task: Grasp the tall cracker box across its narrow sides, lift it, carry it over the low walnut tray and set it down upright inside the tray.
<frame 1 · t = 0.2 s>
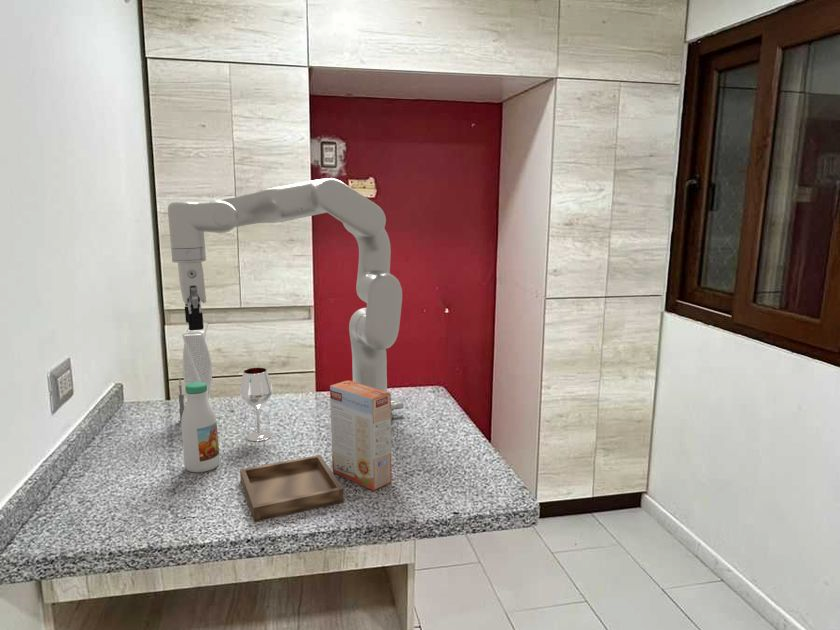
hand: (194, 325, 143), 31 cm above the counter, tool pointing down, fingers open, 9 cm apart
milk bottle: (202, 466, 138), on the counter
walnut tray: (290, 491, 126), on the counter
skyscraper: (200, 421, 167), on the counter
wineglass: (259, 437, 155), on the counter
cracker box: (361, 478, 133), on the counter
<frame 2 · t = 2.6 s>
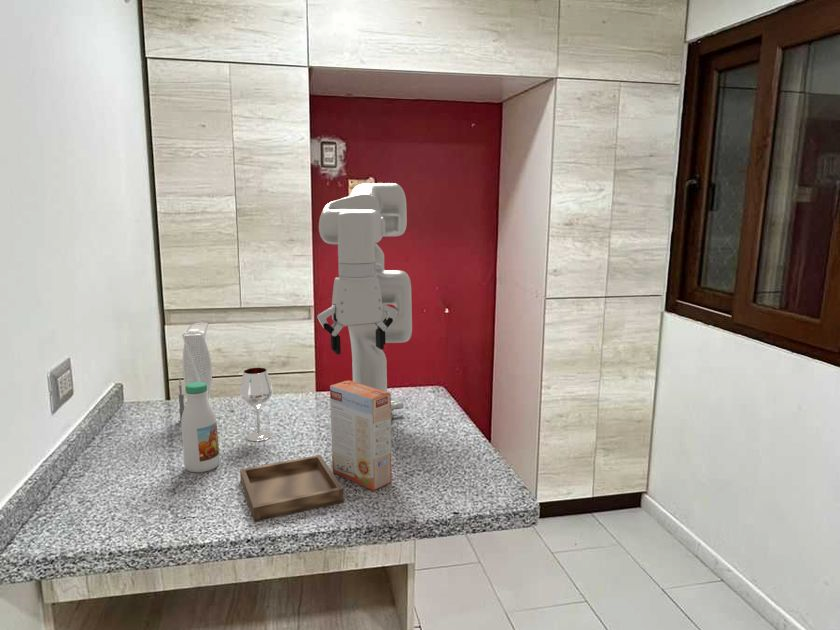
hand: (358, 350, 126), 29 cm above the counter, tool pointing down, fingers open, 9 cm apart
nothing on the counter moved.
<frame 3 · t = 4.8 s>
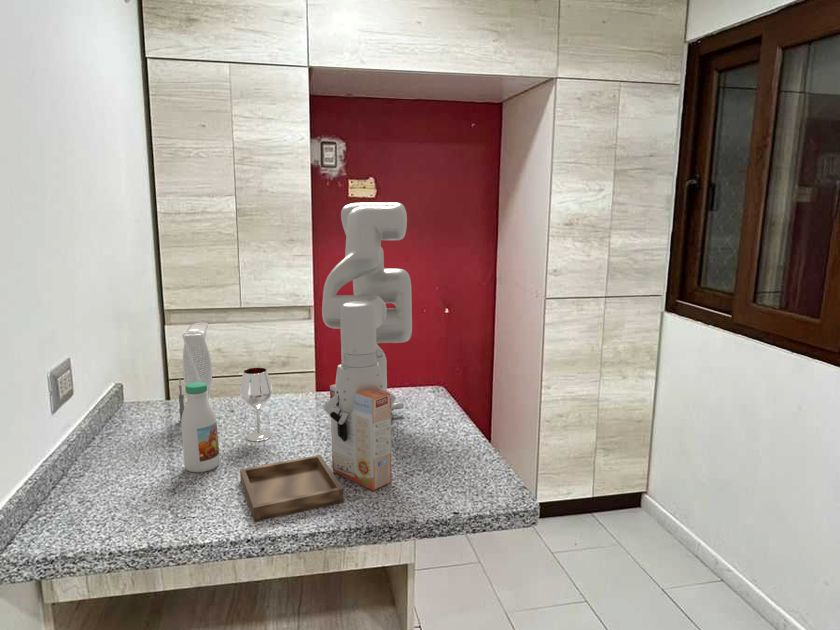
hand: (360, 435, 130), 10 cm above the counter, tool pointing down, fingers closed on cracker box, 7 cm apart
cracker box: (361, 478, 133), on the counter, touching gripper
everything else where it was.
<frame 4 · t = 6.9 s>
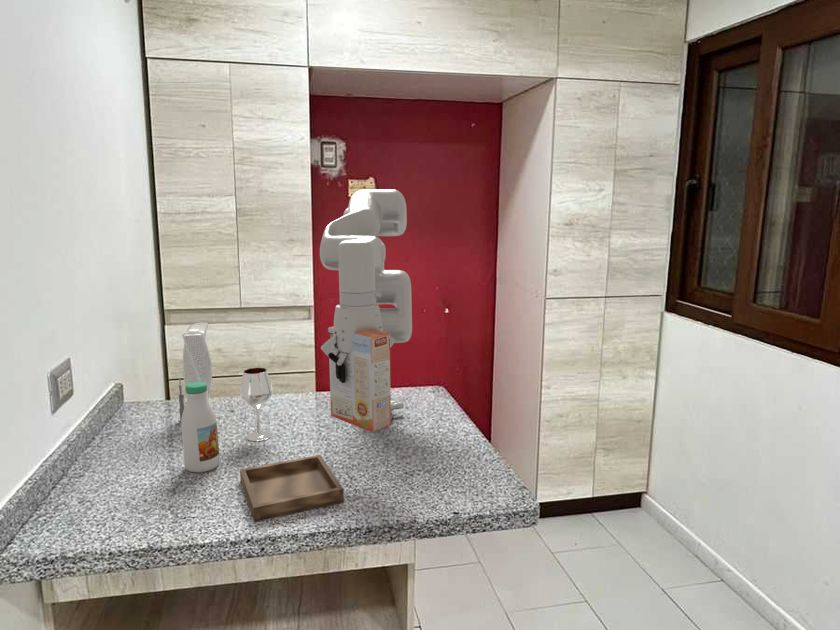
hand: (359, 378, 128), 23 cm above the counter, tool pointing down, fingers closed on cracker box, 7 cm apart
cracker box: (360, 421, 131), point 13 cm above the counter, touching gripper
everything else where it was.
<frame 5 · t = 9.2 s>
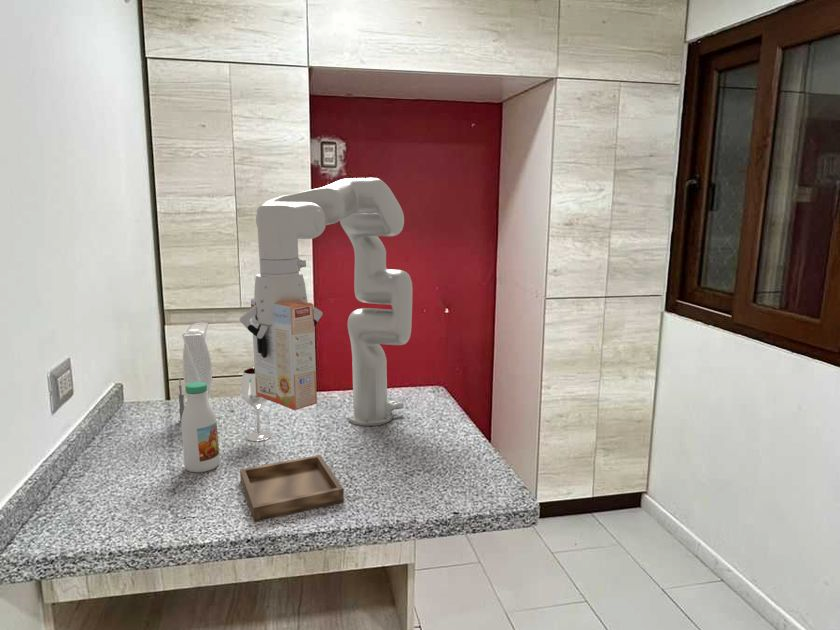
hand: (284, 353, 120), 31 cm above the counter, tool pointing down, fingers closed on cracker box, 7 cm apart
cracker box: (286, 400, 122), point 20 cm above the counter, touching gripper
everything else where it was.
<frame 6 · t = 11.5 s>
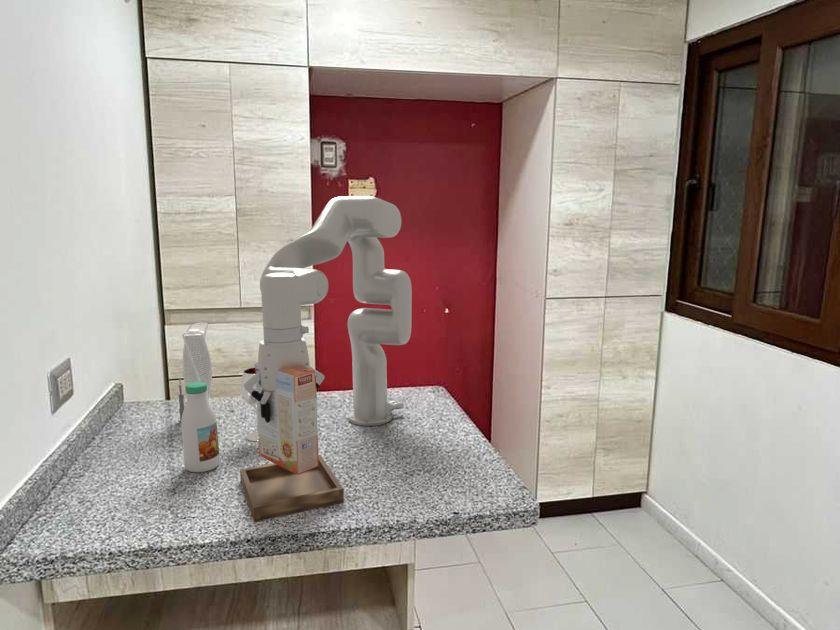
hand: (286, 416, 123), 17 cm above the counter, tool pointing down, fingers closed on cracker box, 7 cm apart
cracker box: (288, 462, 124), point 7 cm above the counter, touching gripper
everything else where it was.
when the fingers open (12 cm above the counter, at t = 13.6 s): cracker box drops 1 cm, resting on walnut tray.
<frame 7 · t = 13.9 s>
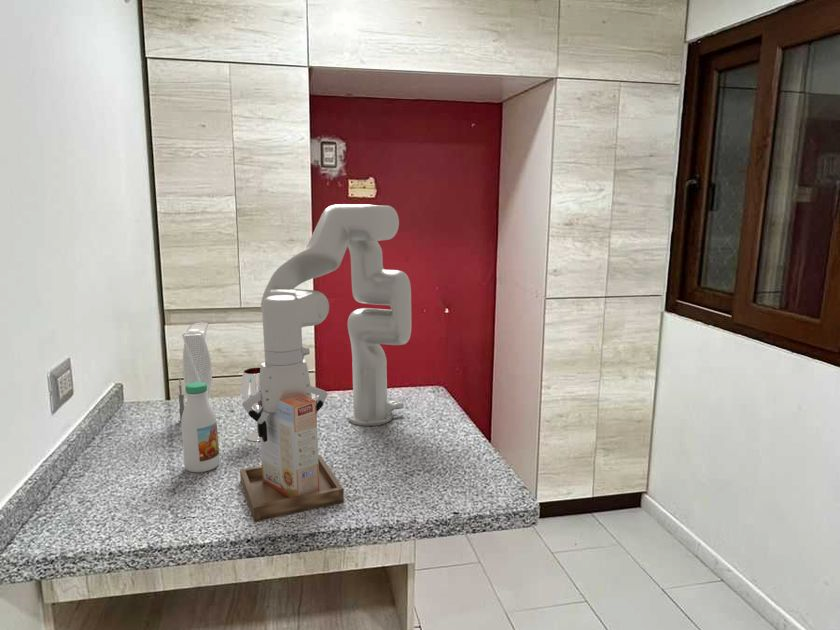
hand: (287, 435, 123), 13 cm above the counter, tool pointing down, fingers open, 9 cm apart
cracker box: (291, 488, 126), point 1 cm above the counter, touching walnut tray
everything else where it was.
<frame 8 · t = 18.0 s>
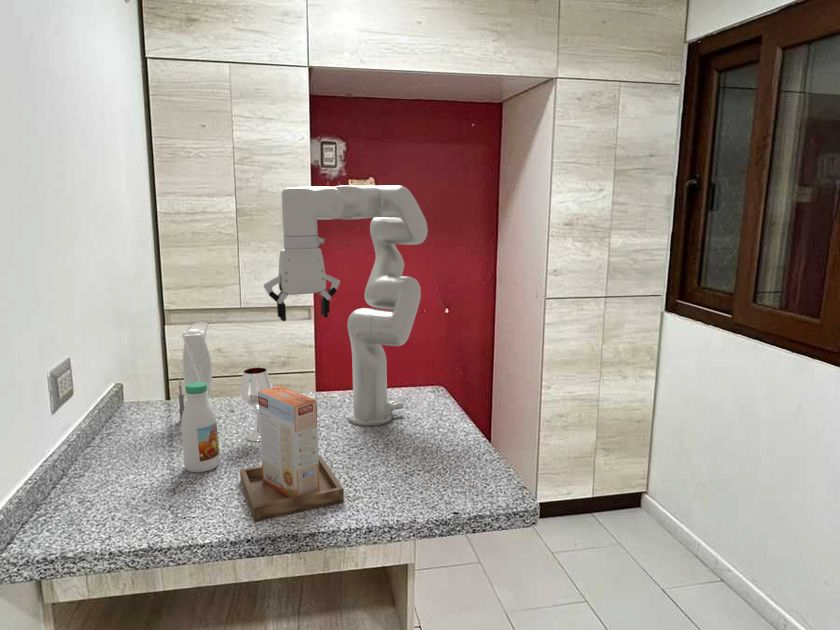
hand: (304, 318, 136), 34 cm above the counter, tool pointing down, fingers open, 9 cm apart
nothing on the counter moved.
at the end: cracker box inside the target area on the walnut tray (0.2 cm from its centre), point 0.6 cm above the walnut tray's base; cracker box tilted 0°; the gripper is holding nothing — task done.
